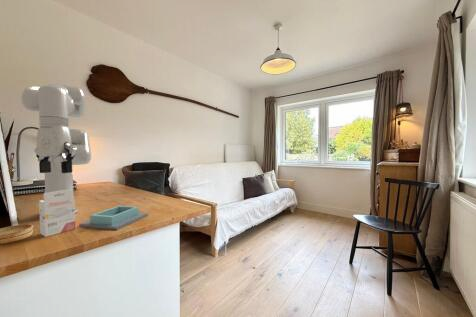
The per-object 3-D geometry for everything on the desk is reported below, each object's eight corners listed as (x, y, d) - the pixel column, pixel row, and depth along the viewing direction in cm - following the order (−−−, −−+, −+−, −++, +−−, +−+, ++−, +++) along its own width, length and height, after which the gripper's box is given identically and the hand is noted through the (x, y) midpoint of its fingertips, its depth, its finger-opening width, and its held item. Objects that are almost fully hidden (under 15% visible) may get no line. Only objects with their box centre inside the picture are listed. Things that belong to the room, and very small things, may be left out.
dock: (79, 226, 77) (78, 215, 77) (115, 213, 94) (115, 204, 94) (116, 230, 73) (116, 219, 73) (147, 215, 90) (147, 206, 90)
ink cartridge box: (70, 226, 77) (68, 187, 77) (75, 229, 75) (74, 188, 74) (39, 234, 70) (37, 191, 70) (44, 237, 67) (42, 193, 67)
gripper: (22, 123, 69) (24, 173, 70) (62, 120, 65) (64, 174, 66) (47, 126, 77) (49, 171, 77) (84, 124, 73) (86, 172, 73)
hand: (56, 172), depth 71 cm, fingers open, 9 cm apart
